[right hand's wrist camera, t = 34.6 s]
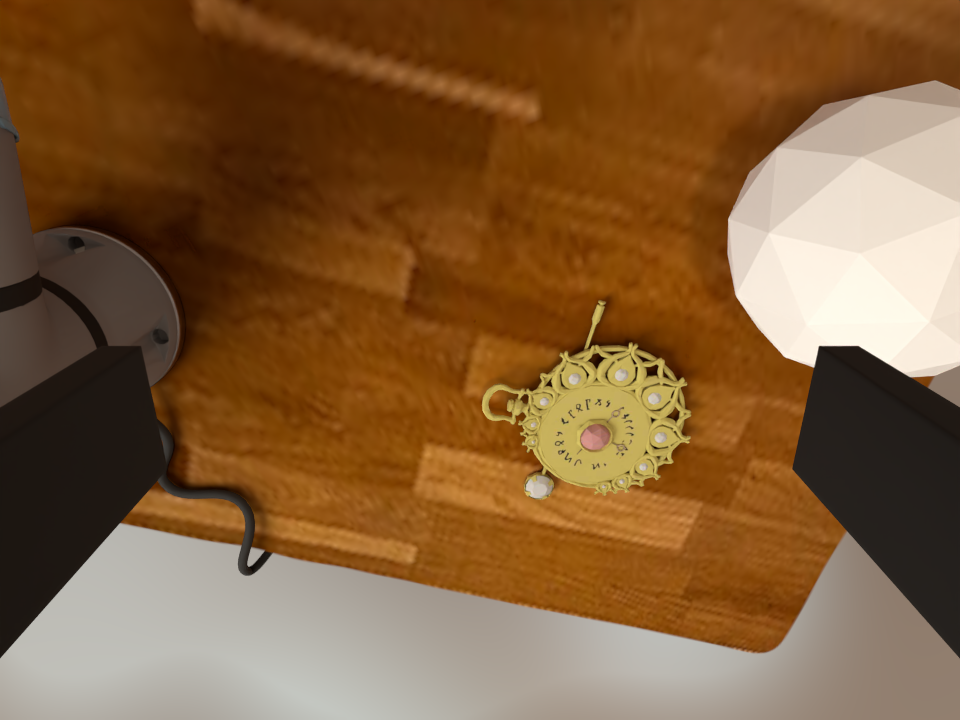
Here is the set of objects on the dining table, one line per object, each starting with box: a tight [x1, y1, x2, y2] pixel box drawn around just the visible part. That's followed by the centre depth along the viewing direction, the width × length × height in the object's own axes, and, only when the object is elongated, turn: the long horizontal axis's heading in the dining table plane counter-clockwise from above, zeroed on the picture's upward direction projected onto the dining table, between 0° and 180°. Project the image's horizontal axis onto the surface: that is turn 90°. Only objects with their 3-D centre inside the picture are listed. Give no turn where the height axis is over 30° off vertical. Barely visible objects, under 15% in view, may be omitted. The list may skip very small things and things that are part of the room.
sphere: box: [728, 80, 960, 377], centre depth 42 cm, size 19×20×20 cm
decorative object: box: [482, 300, 691, 499], centre depth 56 cm, size 21×2×20 cm
